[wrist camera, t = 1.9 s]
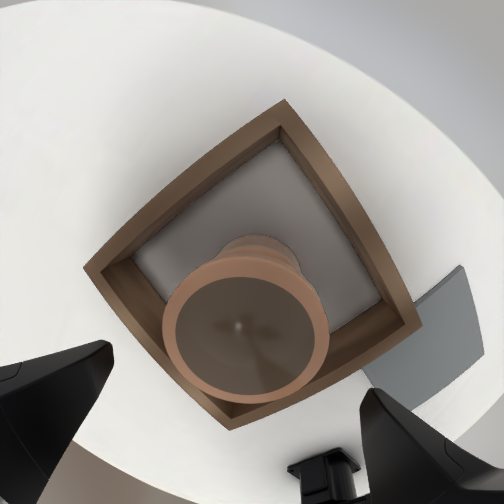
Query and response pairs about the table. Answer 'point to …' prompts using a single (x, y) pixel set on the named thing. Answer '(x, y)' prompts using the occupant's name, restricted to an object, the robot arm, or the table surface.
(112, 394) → the table surface
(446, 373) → the slate mat
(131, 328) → the brown wooden square frame
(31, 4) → the table surface
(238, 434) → the table surface
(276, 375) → the terracotta pot
